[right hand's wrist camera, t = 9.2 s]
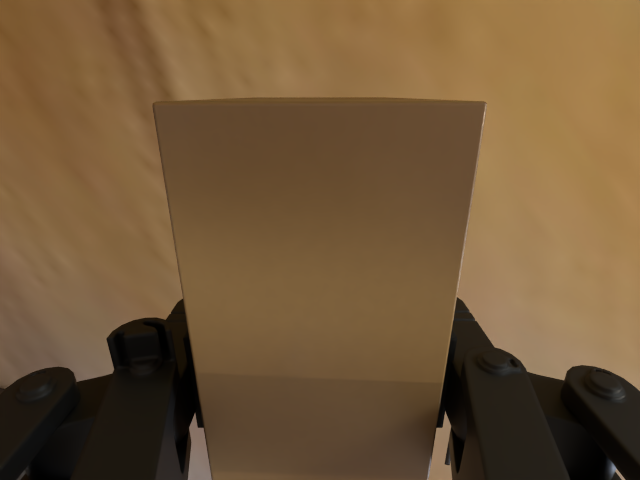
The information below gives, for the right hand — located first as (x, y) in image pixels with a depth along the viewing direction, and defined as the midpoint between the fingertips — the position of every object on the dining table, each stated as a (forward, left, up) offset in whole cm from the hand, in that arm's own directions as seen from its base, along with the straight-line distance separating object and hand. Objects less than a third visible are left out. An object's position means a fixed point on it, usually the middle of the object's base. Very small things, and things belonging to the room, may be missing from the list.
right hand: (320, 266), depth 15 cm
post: (+7, -21, -1) cm, 22 cm away
